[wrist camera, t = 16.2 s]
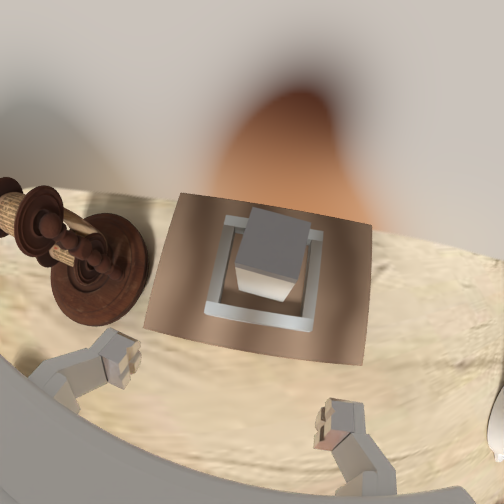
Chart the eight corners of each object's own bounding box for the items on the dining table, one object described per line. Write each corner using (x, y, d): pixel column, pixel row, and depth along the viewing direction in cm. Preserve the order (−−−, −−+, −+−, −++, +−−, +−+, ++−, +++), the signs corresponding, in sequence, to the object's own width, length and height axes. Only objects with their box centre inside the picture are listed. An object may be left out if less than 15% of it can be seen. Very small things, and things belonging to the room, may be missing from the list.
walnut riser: (348, 251, 35) (377, 218, 26) (336, 363, 30) (368, 366, 21) (193, 225, 36) (177, 184, 27) (167, 334, 31) (136, 326, 22)
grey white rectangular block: (293, 260, 26) (311, 222, 18) (282, 302, 24) (297, 279, 17) (251, 249, 26) (252, 206, 19) (238, 290, 25) (234, 262, 17)
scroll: (168, 235, 35) (104, 125, 16) (130, 345, 30) (11, 325, 12) (85, 212, 36) (8, 126, 18) (48, 304, 32) (-58, 258, 13)
